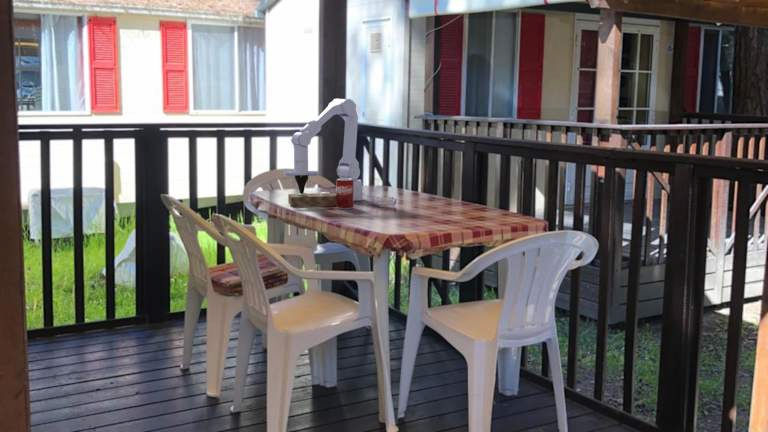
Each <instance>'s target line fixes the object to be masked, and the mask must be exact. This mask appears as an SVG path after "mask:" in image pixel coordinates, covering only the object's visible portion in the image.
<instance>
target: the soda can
mask: <svg viewBox="0 0 768 432" xmlns="http://www.w3.org/2000/svg"><path fill="white" fill-rule="evenodd" d="M335 193H336V206H335V207H336V209H338V210H352V209H354V207H355V201H354V180H353V179H350V178H340V177H339V178H337V179H336V180H335Z"/></svg>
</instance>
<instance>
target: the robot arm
mask: <svg viewBox="0 0 768 432" xmlns="http://www.w3.org/2000/svg"><path fill="white" fill-rule="evenodd" d="M336 115H338V116H340V117H341V118H342V119H343V120H344V131H343V132H344V133H343V134H344V135H343V148H342V157H341V159H339V161H338V166H337V167H336V174H337V176H338V177H339V179H340V178H350V179H353V180H354V202H355V201H363V182H362V179H358V178H359V177H360V175H361V170H360V162H359V161H358V160H357V158H356V151H357V137H358V123H359V116H358V112H357V104H356V103H355V101H354V100H353V99H351V98H338V97H337V98H334V99H333V100H332V101H331V102H329V103H328V106H327V107H326V108H325V109H324V110H323V111H322V112H321V113H320V115H318V116H317V118H316V119H311V120H308V121H306V124H305V125H304V126H303V127H302V128H301V127H300V129H299V131H297V132H294V133H293V135H292V137H291V139H290V141H291V143H292V145H293V154H294V155H293V156H294V158H293V159H294V160H293V161H294V168H293V169H294V170H293V171H290V170H289V171H283V177H284V178H287V177H289V178H290V177H294V179H295V181H296V184H297V186H298V193H300V194H304V193H305V187H306V185H307V183H308V180H309V177H319V176H320V171H319V170H309V145H310V144H311V142H312V139H313V138H314V137H315V136H316V135H317V134H318V133H319V132H320V131H321V130H322V126H323V125H324V124H325V123H326V122H328V120H330V119H331V118H332V117H333V116H336Z"/></svg>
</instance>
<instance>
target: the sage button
mask: <svg viewBox="0 0 768 432" xmlns="http://www.w3.org/2000/svg"><path fill="white" fill-rule="evenodd" d="M296 194H297V195H296V196H307V194H308V192H304V194H300V192H296Z"/></svg>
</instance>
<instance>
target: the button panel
mask: <svg viewBox="0 0 768 432" xmlns="http://www.w3.org/2000/svg"><path fill="white" fill-rule="evenodd" d="M319 194H320V192H318V193H307V196H296V195H297V193H288V195H287V197H288V201H287V202H288V203H289V204H290V205H289V206H290V207H291V208H299V207H300V208H302V207H303V208H305V207H306V208H307V207H328V206H329V207H331V206H335V207H336V192H330V194H331V195H326V196H320V195H319Z"/></svg>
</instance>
